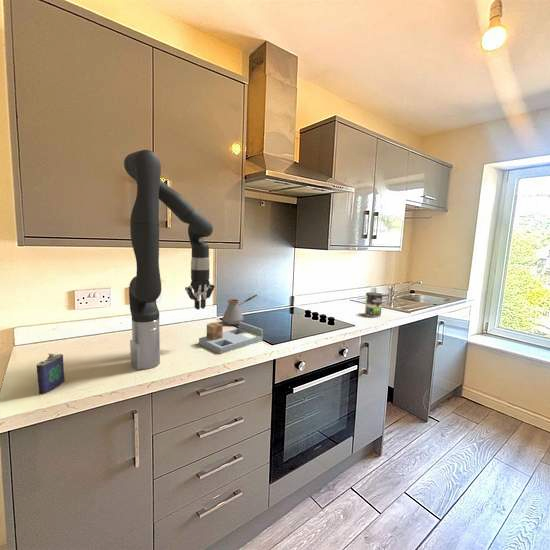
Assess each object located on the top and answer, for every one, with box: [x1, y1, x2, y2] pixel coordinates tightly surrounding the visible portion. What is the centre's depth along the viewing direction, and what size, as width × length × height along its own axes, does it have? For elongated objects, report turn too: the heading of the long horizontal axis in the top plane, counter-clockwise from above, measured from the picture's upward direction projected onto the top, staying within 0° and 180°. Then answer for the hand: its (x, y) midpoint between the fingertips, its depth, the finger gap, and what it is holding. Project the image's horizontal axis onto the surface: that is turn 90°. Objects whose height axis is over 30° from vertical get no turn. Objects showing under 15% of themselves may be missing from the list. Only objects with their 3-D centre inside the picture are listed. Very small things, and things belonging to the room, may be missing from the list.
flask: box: [36, 353, 66, 395], centre depth 93 cm, size 9×3×11 cm, turn 178°
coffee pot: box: [222, 294, 259, 326], centre depth 169 cm, size 21×12×15 cm, turn 124°
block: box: [206, 322, 224, 340], centre depth 135 cm, size 5×5×6 cm
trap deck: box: [198, 321, 264, 355], centre depth 137 cm, size 24×16×6 cm, turn 136°
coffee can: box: [364, 291, 384, 318], centre depth 195 cm, size 10×10×14 cm
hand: (200, 308), depth 128 cm, fingers closed
